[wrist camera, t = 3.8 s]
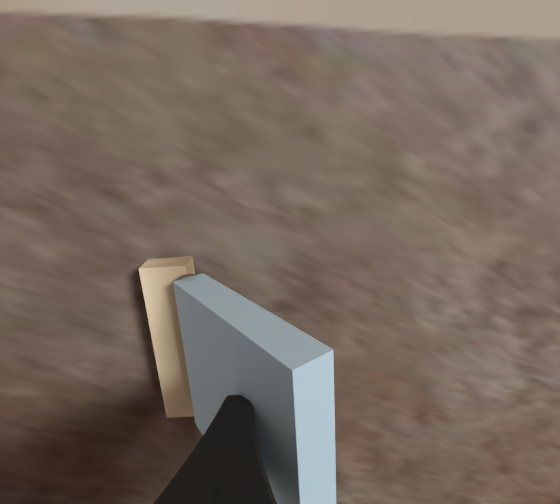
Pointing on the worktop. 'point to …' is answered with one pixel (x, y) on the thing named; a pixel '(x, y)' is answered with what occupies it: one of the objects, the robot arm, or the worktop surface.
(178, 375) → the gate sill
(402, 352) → the worktop surface
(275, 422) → the panel
